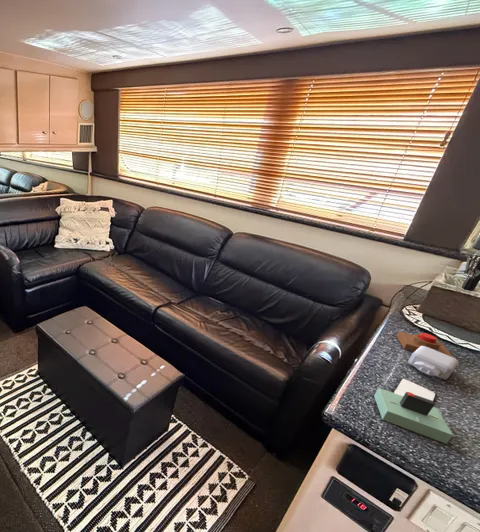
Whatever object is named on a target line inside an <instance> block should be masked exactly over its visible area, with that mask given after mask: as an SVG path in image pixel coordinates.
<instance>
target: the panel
mask: <svg viewBox="0 0 480 532" xmlns="http://www.w3.org/2000/svg"><path fill="white" fill-rule="evenodd" d="M373 397H374V401H375V403H376V406H377V409H378V411H379V413H380V414H379V415H380V417H381V420H383V421H386V422H388V423H389V424H393V425H396V426H398V427H401V428H404V429H406V430H408V431H411V432H414V433H417V434H419V435H422V436H424V437H426V438H430V439H432V440H435V441H437V442H439V443H443V444H445V445H447V444H448V443H449V442H450V440H451V439H452V437H453V436H454V434H453V432H452V431H451V429H450V427H449V425H448V424H447V422H446V421H445V419H444V417H443V415H442V414H441V412H440V411H439V409H438V408H437V407H436V406H433V408H432V409H431V411H430V412H429V414H428V415H427V416H426V415H423V414H420V413H418V412H415V411H412V410H409V409H406V408H404V407H401V405H400V401H401V400H402V398H403V396H401V395H398V394H395V393H394V392H393V391H390V390H386V389H384V388H380V387H378V388H377V390H376V392H375V394H374V395H373Z"/></svg>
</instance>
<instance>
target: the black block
mask: <svg viewBox="0 0 480 532" xmlns="http://www.w3.org/2000/svg"><path fill="white" fill-rule="evenodd" d="M400 405H401V407H404V408H406V409H409V410H412V411H415V412H418V413H420V414H423V415H426V416H427V415H428V414H429V412H430V411H431V409H432V408H433V407H435V403H434V400H433V401H432V400H429V399H426V398H423V397H420V396H417V395H414V394H413V393H410V392H406V393H405V395H404V396H403V398H402V400H401V401H400Z"/></svg>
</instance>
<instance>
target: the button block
mask: <svg viewBox="0 0 480 532" xmlns="http://www.w3.org/2000/svg"><path fill="white" fill-rule="evenodd" d="M420 335H421V333H413V334H412V333H411V334H410V333H407V332H403V331H400V330H399V331H398V332H397V334H396V338H397V340H398V341H399V343H400V345H401V347H402V348H403V350H407V351H410V352H412V353H414V352H415V351H416V350H417V349H418V348H419V347H420V346H425V347H428V348H431V349H433V350H436V351H438V352H441V353H443V354H446V355H448V356H451V357H453V358H454V355H453V354H451V352H450V351H449V350H448V349H447V347H446V346H445V345H444V343H442V342H440V341H439V340H438V339H437V340H436V341H435V343H430V342H427V341H424V340H422V339H420V338H419V336H420Z"/></svg>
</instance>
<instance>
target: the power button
mask: <svg viewBox="0 0 480 532" xmlns="http://www.w3.org/2000/svg"><path fill="white" fill-rule="evenodd" d="M420 334H421V335H420V336H419V338H420V339H422V340H424V341H427V342H430V343H435V341H436V340H437V341H438V338H437V337H436V336H434V335H432V334H429V333H426V332H421V333H420Z"/></svg>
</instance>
